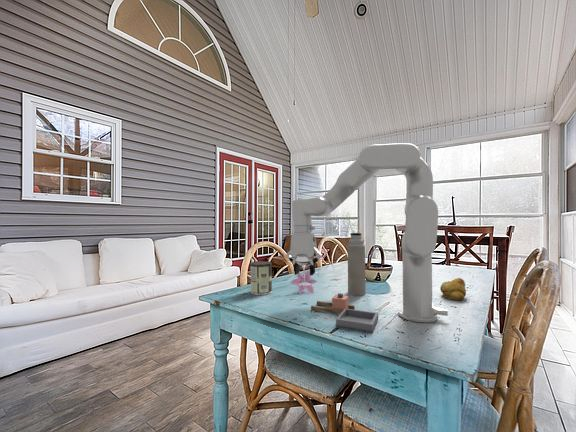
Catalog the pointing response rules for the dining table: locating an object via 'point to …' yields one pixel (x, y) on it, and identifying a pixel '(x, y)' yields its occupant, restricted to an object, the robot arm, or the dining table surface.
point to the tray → (357, 320)
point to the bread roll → (454, 289)
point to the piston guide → (328, 310)
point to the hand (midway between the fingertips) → (304, 273)
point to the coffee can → (261, 277)
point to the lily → (301, 279)
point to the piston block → (340, 302)
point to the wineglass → (303, 266)
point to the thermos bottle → (356, 265)
